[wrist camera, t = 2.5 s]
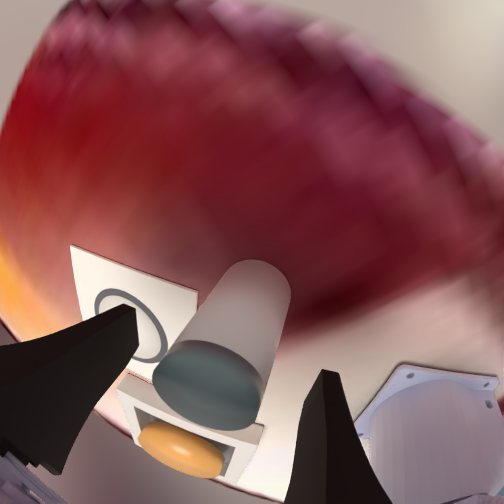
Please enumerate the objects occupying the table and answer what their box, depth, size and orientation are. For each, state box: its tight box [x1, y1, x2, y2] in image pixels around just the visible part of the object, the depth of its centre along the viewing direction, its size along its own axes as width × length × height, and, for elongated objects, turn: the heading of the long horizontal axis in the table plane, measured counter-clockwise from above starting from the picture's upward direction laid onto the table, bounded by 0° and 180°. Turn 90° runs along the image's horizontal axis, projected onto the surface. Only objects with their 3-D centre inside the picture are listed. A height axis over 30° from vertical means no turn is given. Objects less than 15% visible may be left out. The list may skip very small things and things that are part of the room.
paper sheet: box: [70, 245, 199, 380], centre depth 18 cm, size 10×10×1 cm
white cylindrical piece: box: [152, 259, 291, 431], centre depth 11 cm, size 4×4×7 cm
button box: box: [116, 373, 264, 484], centre depth 22 cm, size 12×12×2 cm
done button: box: [138, 421, 225, 478], centre depth 20 cm, size 8×8×2 cm
